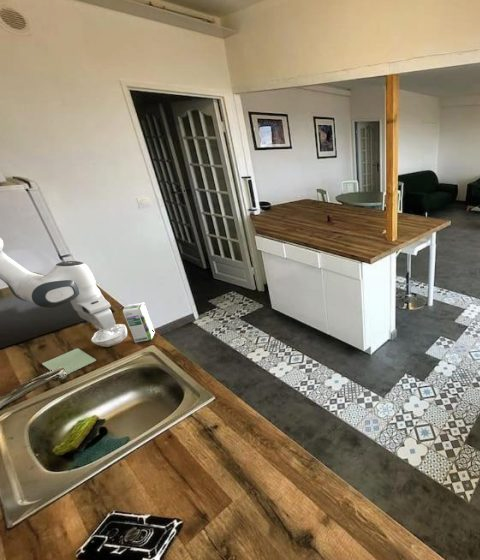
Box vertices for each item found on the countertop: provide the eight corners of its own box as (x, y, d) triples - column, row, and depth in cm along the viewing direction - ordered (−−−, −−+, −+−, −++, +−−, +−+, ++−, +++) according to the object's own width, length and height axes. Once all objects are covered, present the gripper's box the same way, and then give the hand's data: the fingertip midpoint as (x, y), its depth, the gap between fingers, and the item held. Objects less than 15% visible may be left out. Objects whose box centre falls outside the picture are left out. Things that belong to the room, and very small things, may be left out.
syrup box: (134, 343, 121) (121, 311, 114) (138, 335, 125) (126, 304, 119) (152, 340, 123) (140, 308, 117) (155, 332, 128) (144, 301, 121)
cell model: (137, 333, 127) (132, 319, 124) (118, 351, 116) (111, 336, 113) (110, 334, 125) (104, 320, 123) (88, 353, 115) (80, 338, 112)
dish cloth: (59, 377, 103) (59, 377, 103) (42, 364, 109) (41, 363, 109) (96, 360, 111) (96, 359, 111) (78, 348, 117) (77, 348, 117)
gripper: (64, 298, 118) (79, 328, 124) (91, 312, 110) (106, 343, 116) (84, 291, 123) (98, 321, 129) (112, 304, 115) (125, 334, 121)
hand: (102, 331), depth 122 cm, fingers closed
